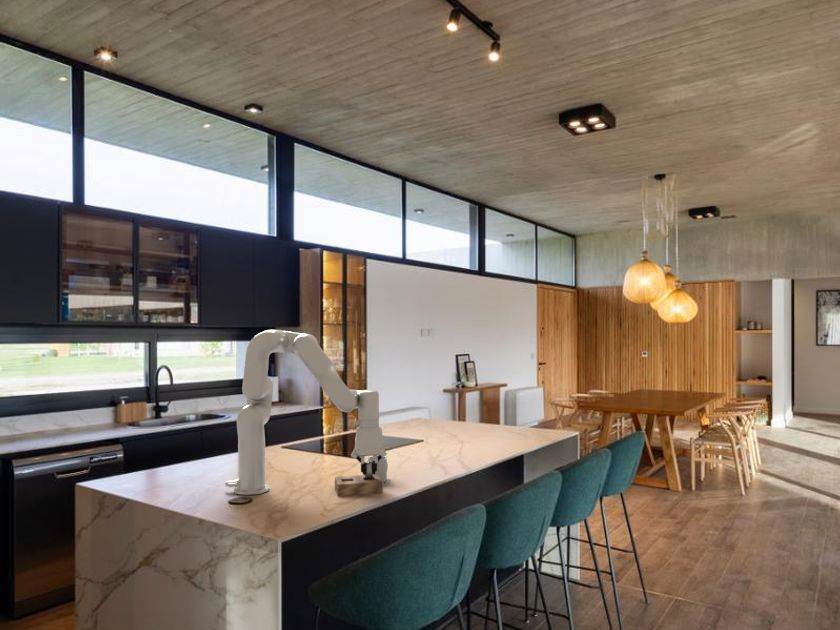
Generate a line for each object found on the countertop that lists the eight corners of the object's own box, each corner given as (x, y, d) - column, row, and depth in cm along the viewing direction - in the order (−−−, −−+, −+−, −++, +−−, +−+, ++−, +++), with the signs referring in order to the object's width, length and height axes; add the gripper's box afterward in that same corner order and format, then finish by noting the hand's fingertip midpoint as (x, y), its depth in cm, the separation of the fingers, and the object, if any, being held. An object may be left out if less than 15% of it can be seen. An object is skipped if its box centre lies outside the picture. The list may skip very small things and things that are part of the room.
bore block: (338, 495, 217) (337, 484, 218) (334, 487, 229) (334, 476, 229) (382, 492, 221) (382, 481, 221) (377, 484, 233) (377, 474, 233)
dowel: (365, 482, 224) (365, 462, 224) (364, 480, 227) (364, 461, 228) (373, 481, 225) (373, 462, 225) (372, 479, 228) (372, 460, 228)
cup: (364, 482, 238) (364, 458, 238) (379, 476, 246) (379, 454, 246) (379, 484, 234) (379, 460, 234) (394, 478, 242) (394, 456, 243)
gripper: (347, 426, 221) (347, 477, 221) (392, 424, 225) (392, 474, 224) (345, 423, 228) (345, 473, 228) (388, 421, 232) (389, 470, 232)
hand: (368, 473), depth 226 cm, fingers closed on dowel, 3 cm apart
